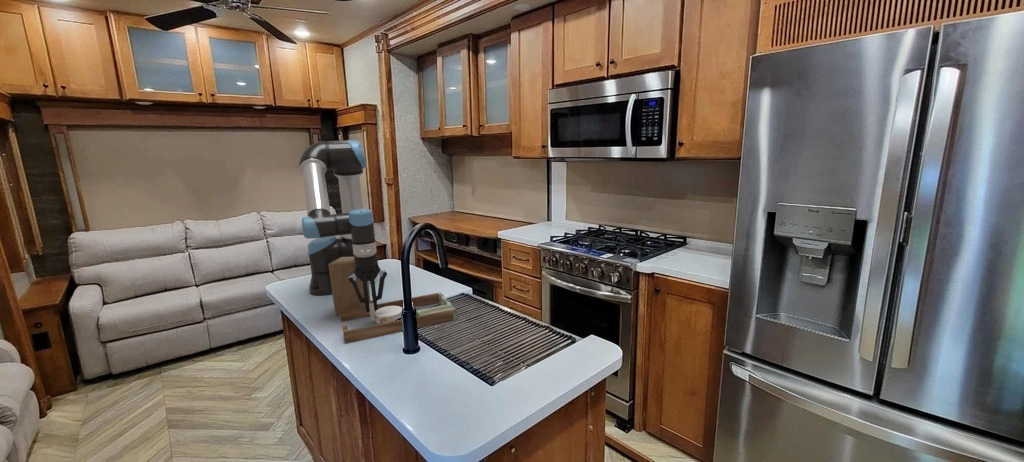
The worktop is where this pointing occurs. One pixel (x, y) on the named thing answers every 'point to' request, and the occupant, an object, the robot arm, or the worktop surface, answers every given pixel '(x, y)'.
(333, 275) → the wooden block
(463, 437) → the worktop surface
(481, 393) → the worktop surface
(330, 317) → the worktop surface
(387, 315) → the coaster
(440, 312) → the open wooden box
